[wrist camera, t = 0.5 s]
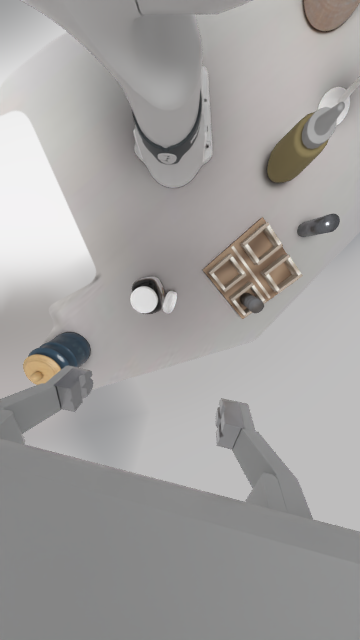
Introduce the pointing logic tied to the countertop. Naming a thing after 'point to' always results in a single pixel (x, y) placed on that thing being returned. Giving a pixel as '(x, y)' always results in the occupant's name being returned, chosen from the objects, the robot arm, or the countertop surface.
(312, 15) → the planter
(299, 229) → the pin
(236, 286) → the wooden compartment tray
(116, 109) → the countertop surface
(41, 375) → the canister
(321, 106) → the champagne flute
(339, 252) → the countertop surface
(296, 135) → the squeeze bottle
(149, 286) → the spread jar
